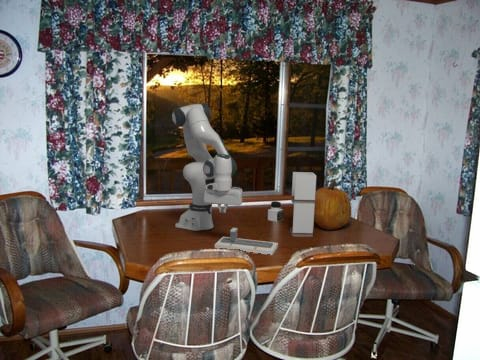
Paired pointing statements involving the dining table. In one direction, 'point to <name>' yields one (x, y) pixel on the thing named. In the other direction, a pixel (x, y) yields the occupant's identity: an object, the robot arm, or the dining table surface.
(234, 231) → the fader tab
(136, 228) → the dining table surface
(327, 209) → the pumpkin
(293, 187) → the light grey rectangular tower
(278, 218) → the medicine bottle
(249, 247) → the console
